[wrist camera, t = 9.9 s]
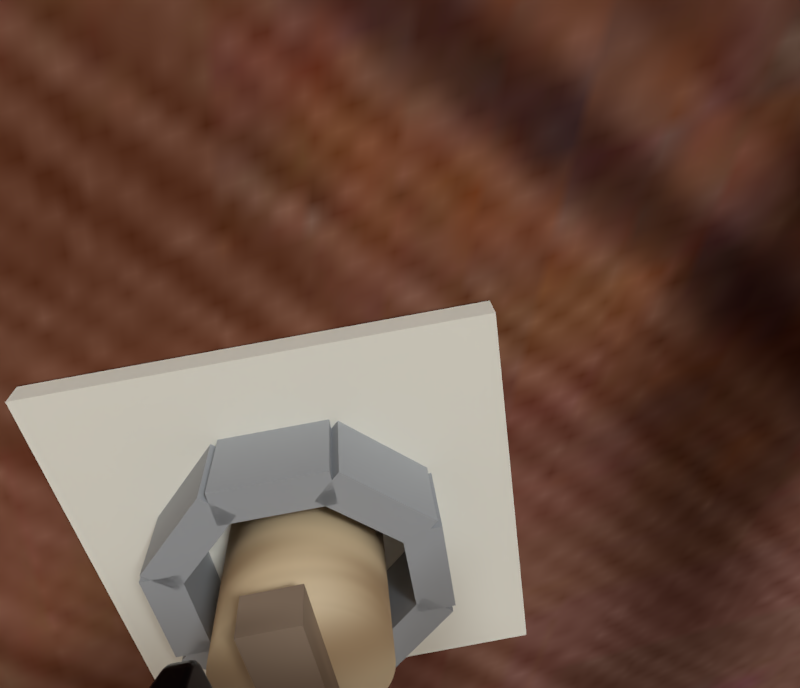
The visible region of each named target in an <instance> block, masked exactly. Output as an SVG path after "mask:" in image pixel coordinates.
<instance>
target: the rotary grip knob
mask: <svg viewBox="0 0 800 688" xmlns="http://www.w3.org/2000/svg"><path fill="white" fill-rule="evenodd" d="M395 668H396V658H395V648H394V638H393V629H392V619H391V609H390V599H389V589H388V579H387V569H386V559H385V549H384V539H383V533H381V532H379V531H377V530H375V529H373V528H371V527H368V526H366V525H364V524H362V523H360V522H358V521H356V520H354V519H351V518H349V517H347V516H345V515H343V514H341V513H339V512H337V511H334V510H332V509H330V508H328V507H326V506H324V507H319V508H313V509H308V510H302V511H297V512H292V513H286V514H281V515H275V516H270V517H264V518H259V519H254V520H248V521H243V522H237V523H232V524H231V527H230V532H229V538H228V544H227V550H226V555H225V561H224V567H223V573H222V579H221V584H220V590H219V596H218V602H217V607H216V613H215V619H214V625H213V630H212V636H211V642H210V648H209V653H208V659H207V665H206V676H207V678H208V680H209V682H210V683H211V685H212V687H213V688H388V687H389V685H390V684H391V681H392V679H393V677H394V673H395Z"/></svg>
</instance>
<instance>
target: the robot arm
mask: <svg viewBox="0 0 800 688" xmlns="http://www.w3.org/2000/svg"><path fill="white" fill-rule="evenodd" d="M150 688H213V687H212V685H211V683H210V682H209V680H208V678H207V676H206V674H205V672H204V670H203V668H202V667H201V665H200V664H199V662H197V661H196V660H187V661H182V662H176V663H171V664H169V665H167V666H166V667H164V668H163V669H162V671H161V672H160V673H159V675H158V676H157V677H156V679H155V680H154V682H153V683H152V685H151V686H150Z"/></svg>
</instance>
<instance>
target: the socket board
mask: <svg viewBox="0 0 800 688" xmlns="http://www.w3.org/2000/svg"><path fill="white" fill-rule="evenodd" d="M6 404H7V406H8V408H9V410H10V412H11V414H12V415H13V417H14V419H15V421H16V423H17V425H18V427H19V428H20V430H21V432H22V434H23V436H24V438H25V440H26V441H27V443H28V445H29V447H30V449H31V451H32V453H33V454H34V456H35V458H36V460H37V462H38V464H39V466H40V467H41V469H42V471H43V473H44V475H45V477H46V479H47V480H48V482H49V484H50V486H51V488H52V490H53V492H54V493H55V495H56V497H57V499H58V501H59V503H60V505H61V506H62V508H63V510H64V512H65V514H66V516H67V518H68V519H69V521H70V523H71V525H72V527H73V529H74V531H75V532H76V534H77V536H78V538H79V540H80V542H81V544H82V545H83V547H84V549H85V551H86V553H87V555H88V557H89V558H90V560H91V562H92V564H93V566H94V568H95V570H96V571H97V573H98V575H99V577H100V579H101V581H102V583H103V584H104V586H105V588H106V590H107V592H108V594H109V596H110V597H111V599H112V601H113V603H114V605H115V607H116V609H117V610H118V612H119V614H120V616H121V618H122V620H123V622H124V623H125V625H126V627H127V629H128V631H129V633H130V635H131V636H132V638H133V640H134V642H135V644H136V646H137V648H138V649H139V651H140V653H141V655H142V657H143V659H144V661H145V662H146V664H147V666H148V668H149V670H150V672H151V674H152V676H153V677H154V679H156V677H157V676H158V675H159V673H160V672H161V671H162V669H163V668H164V667H166V666H167V665H169V664H171V663H176V662H182V661H187V660H196V661H197V662H199V664H200V665H201V667H202V668H203V670H204V672H205V674H206V665H207V659H208V653H209V648H210V642H211V636H212V630H213V625H214V619H215V613H216V607H217V602H218V596H219V590H220V584H221V579H222V573H223V567H224V561H225V555H226V550H227V544H228V538H229V532H230V527H231V524H232V523H237V522H243V521H248V520H254V519H259V518H264V517H270V516H275V515H281V514H286V513H292V512H297V511H302V510H308V509H313V508H319V507H324V506H326V507H328V508H330V509H332V510H334V511H337V512H339V513H341V514H343V515H345V516H347V517H349V518H351V519H354V520H356V521H358V522H360V523H362V524H364V525H366V526H368V527H371V528H373V529H375V530H377V531H379V532H381V533H383V539H384V549H385V559H386V569H387V579H388V589H389V599H390V609H391V619H392V629H393V638H394V648H395V658H396V667H397V666H398V665H399V664H400V663H401V662H402V661H403V660H404V659H405V658H406V657H409V656H414V655H420V654H425V653H430V652H436V651H441V650H446V649H452V648H457V647H463V646H468V645H473V644H479V643H484V642H489V641H495V640H500V639H506V638H511V637H516V636H522V635H526V626H525V615H524V605H523V594H522V584H521V573H520V563H519V552H518V542H517V532H516V521H515V511H514V500H513V490H512V479H511V469H510V458H509V448H508V438H507V427H506V417H505V406H504V396H503V385H502V375H501V364H500V354H499V344H498V333H497V323H496V313H495V311H494V309H493V306H492V304H491V302H490V301H485V302H479V303H474V304H468V305H463V306H457V307H452V308H447V309H441V310H436V311H430V312H425V313H419V314H414V315H408V316H403V317H397V318H392V319H386V320H381V321H375V322H370V323H364V324H359V325H353V326H348V327H342V328H337V329H331V330H326V331H321V332H315V333H310V334H304V335H299V336H293V337H288V338H282V339H277V340H271V341H266V342H260V343H255V344H249V345H244V346H238V347H233V348H227V349H222V350H216V351H211V352H205V353H200V354H195V355H189V356H184V357H178V358H173V359H167V360H162V361H156V362H151V363H145V364H140V365H134V366H129V367H123V368H118V369H112V370H107V371H101V372H96V373H90V374H85V375H79V376H74V377H68V378H63V379H58V380H52V381H47V382H41V383H36V384H30V385H25V386H19V387H16V389H15V390H14V391H13V393H12V394H11V395H10V397H9V398H8V399H7V401H6Z"/></svg>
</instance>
